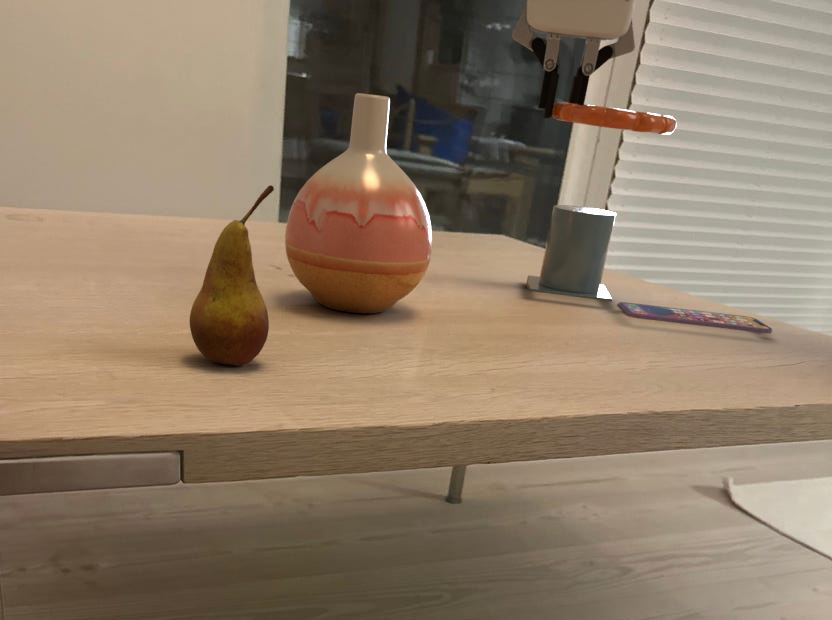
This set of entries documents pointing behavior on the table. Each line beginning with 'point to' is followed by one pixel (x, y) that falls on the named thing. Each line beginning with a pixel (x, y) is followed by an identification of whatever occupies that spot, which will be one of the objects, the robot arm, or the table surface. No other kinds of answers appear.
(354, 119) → the vase
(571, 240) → the cylinder on square base
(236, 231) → the fruit
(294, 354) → the table surface
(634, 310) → the smartphone
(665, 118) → the ring
